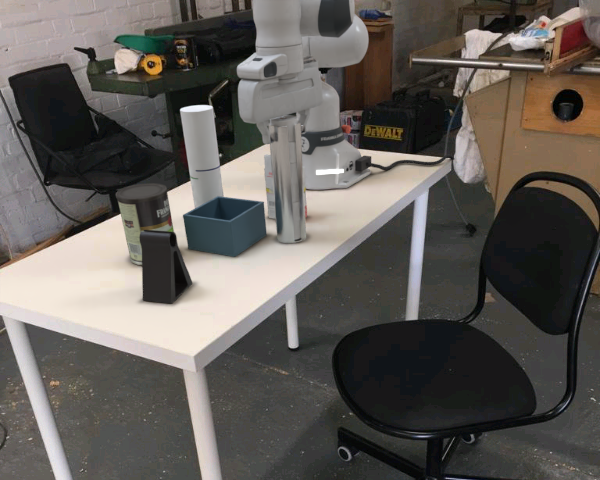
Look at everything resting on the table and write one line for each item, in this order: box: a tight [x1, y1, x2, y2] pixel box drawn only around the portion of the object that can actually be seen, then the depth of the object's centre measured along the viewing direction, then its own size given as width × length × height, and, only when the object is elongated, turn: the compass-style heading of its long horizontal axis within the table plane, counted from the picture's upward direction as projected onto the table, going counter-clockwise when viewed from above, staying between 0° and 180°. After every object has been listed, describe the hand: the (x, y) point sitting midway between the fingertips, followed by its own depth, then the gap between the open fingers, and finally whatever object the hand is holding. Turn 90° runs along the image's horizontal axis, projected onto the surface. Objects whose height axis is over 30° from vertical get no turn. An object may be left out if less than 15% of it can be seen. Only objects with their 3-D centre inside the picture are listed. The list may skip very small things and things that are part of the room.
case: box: [182, 196, 268, 258], centre depth 140 cm, size 13×12×8 cm
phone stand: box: [140, 230, 193, 304], centre depth 119 cm, size 9×6×12 cm, turn 162°
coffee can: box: [115, 182, 175, 266], centre depth 134 cm, size 10×10×14 cm
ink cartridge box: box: [263, 153, 308, 220], centre depth 149 cm, size 9×5×15 cm, turn 55°
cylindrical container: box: [179, 104, 225, 209], centre depth 147 cm, size 7×7×25 cm
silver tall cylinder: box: [267, 114, 307, 244], centre depth 135 cm, size 6×6×25 cm
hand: (285, 138), depth 130 cm, fingers open, 8 cm apart
